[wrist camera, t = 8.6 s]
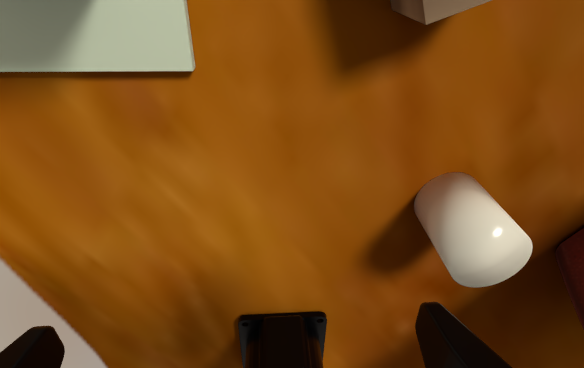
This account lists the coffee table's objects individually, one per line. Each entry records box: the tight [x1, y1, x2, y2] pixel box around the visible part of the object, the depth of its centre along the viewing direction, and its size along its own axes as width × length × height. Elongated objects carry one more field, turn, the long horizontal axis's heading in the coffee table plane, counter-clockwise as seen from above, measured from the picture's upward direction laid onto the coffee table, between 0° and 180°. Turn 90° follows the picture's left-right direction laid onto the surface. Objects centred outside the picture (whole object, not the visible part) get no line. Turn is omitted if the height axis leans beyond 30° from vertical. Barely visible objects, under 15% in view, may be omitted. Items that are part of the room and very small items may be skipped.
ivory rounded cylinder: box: [414, 172, 533, 287], centre depth 19 cm, size 4×4×5 cm
